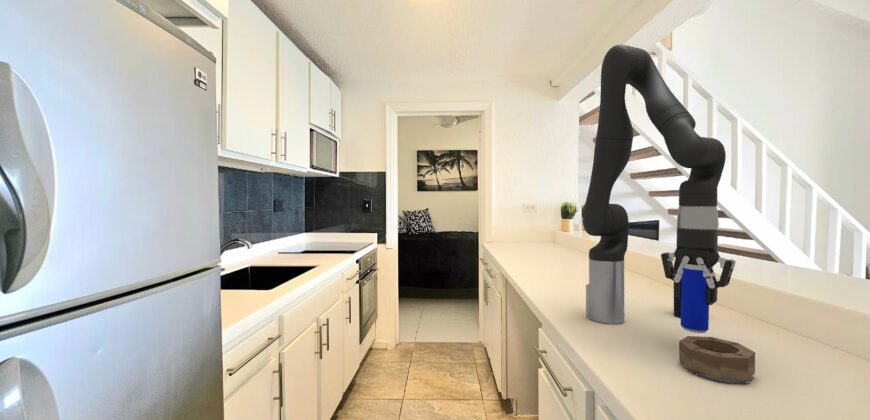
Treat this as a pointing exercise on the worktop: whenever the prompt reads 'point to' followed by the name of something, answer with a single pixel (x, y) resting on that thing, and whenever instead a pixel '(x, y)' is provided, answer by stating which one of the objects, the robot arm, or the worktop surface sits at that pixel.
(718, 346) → the collar
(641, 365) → the worktop surface
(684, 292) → the beverage can
